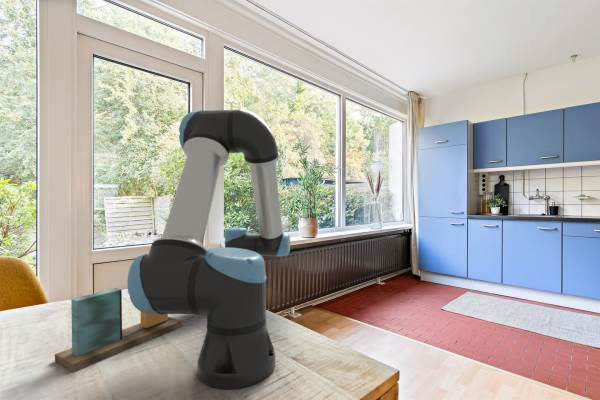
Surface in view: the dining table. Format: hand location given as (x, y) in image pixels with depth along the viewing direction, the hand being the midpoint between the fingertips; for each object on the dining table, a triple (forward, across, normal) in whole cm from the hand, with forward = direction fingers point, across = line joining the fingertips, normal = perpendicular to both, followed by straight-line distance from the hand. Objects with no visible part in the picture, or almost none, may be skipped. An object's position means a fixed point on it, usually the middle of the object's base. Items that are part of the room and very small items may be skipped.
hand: (143, 301), depth 77 cm
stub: (-3, 0, -6) cm, 7 cm away
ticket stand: (+4, 0, -8) cm, 9 cm away
